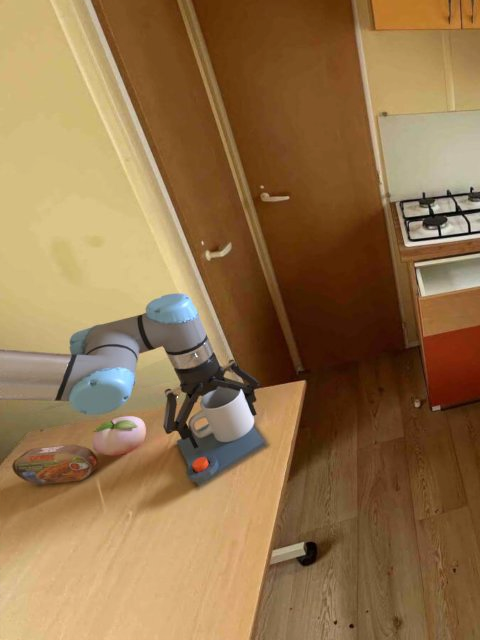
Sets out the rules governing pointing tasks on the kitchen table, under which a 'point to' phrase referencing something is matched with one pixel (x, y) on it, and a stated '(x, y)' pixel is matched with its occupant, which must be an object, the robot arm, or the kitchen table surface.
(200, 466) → the scale button
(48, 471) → the tin
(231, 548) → the kitchen table surface
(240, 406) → the mug
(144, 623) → the kitchen table surface
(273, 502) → the kitchen table surface
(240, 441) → the scale
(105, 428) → the decorative fruit
